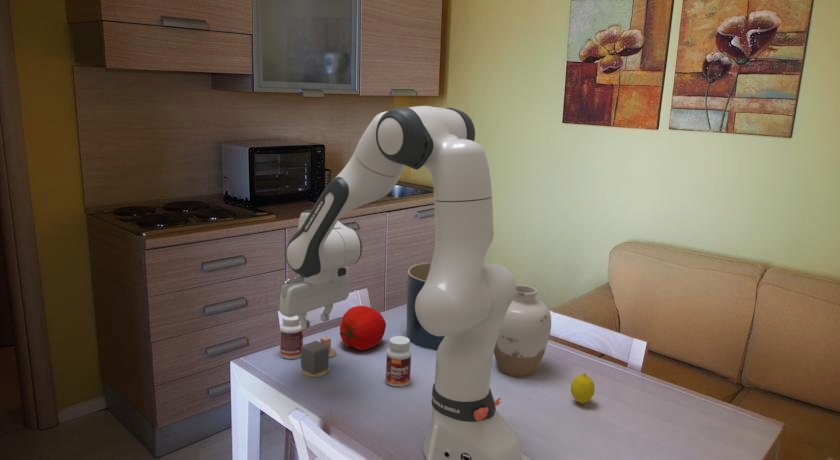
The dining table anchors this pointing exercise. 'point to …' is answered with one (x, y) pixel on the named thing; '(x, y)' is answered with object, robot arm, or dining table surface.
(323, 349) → the charcoal tapered box
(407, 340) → the pill bottle
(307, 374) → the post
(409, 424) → the dining table surface
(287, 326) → the pill bottle
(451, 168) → the robot arm
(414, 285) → the planter
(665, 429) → the dining table surface
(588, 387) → the fruit
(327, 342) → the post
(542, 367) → the dining table surface
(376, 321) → the tomato
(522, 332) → the vase
